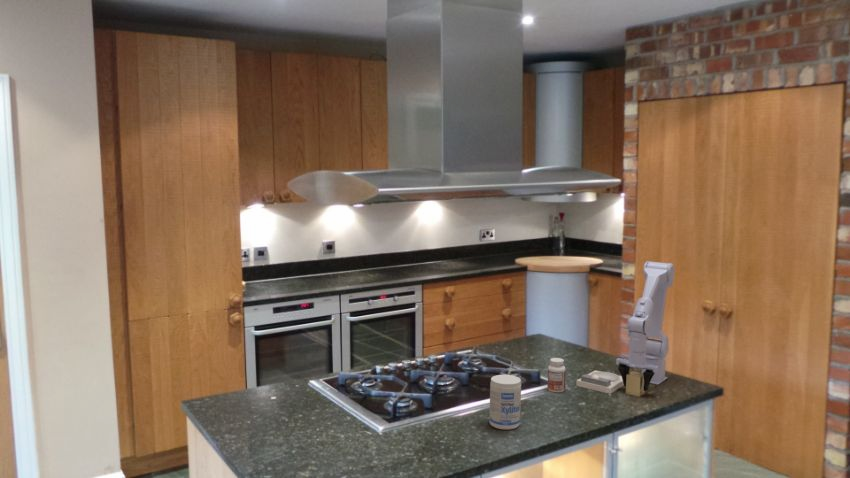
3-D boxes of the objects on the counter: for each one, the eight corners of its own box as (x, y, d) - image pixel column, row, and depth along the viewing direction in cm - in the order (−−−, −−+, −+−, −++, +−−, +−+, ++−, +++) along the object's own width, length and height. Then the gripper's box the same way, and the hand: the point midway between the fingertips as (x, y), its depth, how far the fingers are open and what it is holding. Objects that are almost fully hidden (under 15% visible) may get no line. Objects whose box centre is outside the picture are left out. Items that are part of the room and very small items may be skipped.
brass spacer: (631, 389, 250) (632, 370, 249) (645, 393, 247) (646, 373, 246) (625, 393, 246) (626, 374, 245) (639, 396, 243) (640, 377, 242)
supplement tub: (503, 433, 212) (504, 386, 210) (482, 423, 219) (483, 378, 217) (526, 425, 218) (527, 380, 216) (505, 416, 225) (506, 372, 223)
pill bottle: (555, 385, 254) (556, 356, 252) (568, 390, 249) (569, 360, 248) (543, 389, 250) (544, 359, 248) (557, 394, 245) (558, 363, 244)
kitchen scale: (595, 375, 265) (595, 362, 265) (627, 382, 257) (628, 369, 256) (576, 385, 254) (576, 371, 253) (610, 393, 246) (610, 379, 245)
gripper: (612, 348, 246) (611, 386, 248) (653, 357, 237) (651, 395, 239) (621, 344, 251) (619, 381, 253) (661, 352, 242) (659, 390, 244)
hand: (635, 387), depth 246 cm, fingers open, 7 cm apart
